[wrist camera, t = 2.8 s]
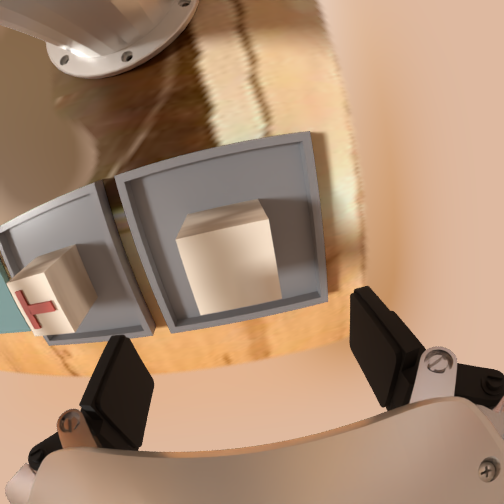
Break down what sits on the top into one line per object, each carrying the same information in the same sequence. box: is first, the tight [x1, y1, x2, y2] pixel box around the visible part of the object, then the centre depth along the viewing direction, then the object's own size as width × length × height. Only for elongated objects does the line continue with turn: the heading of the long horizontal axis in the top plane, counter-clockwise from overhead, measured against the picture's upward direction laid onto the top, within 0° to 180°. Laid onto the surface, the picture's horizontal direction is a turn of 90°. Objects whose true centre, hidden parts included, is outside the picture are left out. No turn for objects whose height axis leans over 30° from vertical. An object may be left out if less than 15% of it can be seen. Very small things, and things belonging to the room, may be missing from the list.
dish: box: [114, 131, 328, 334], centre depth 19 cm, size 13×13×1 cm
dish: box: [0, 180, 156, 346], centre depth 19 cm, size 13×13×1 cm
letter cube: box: [6, 244, 98, 336], centre depth 17 cm, size 5×5×5 cm
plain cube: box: [175, 199, 282, 315], centre depth 17 cm, size 5×5×5 cm
